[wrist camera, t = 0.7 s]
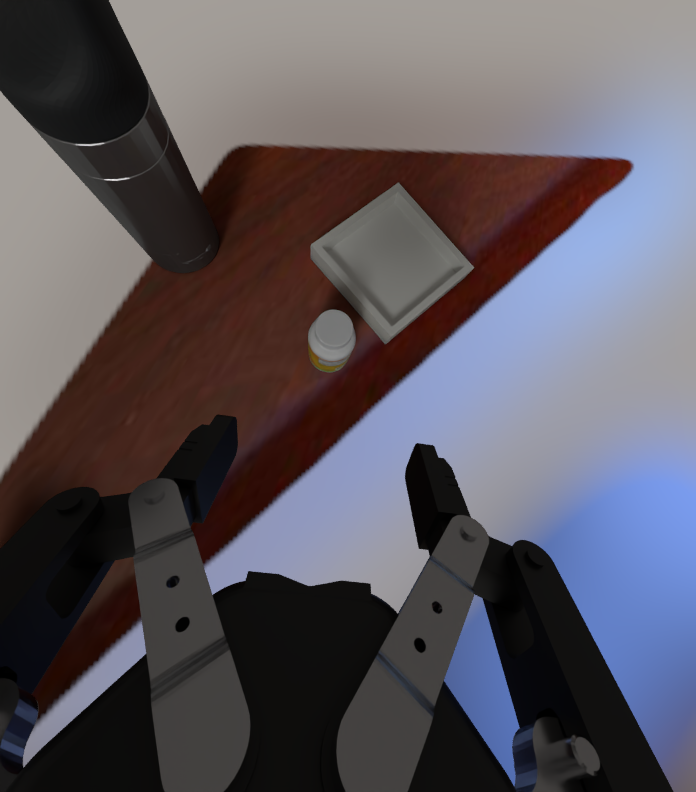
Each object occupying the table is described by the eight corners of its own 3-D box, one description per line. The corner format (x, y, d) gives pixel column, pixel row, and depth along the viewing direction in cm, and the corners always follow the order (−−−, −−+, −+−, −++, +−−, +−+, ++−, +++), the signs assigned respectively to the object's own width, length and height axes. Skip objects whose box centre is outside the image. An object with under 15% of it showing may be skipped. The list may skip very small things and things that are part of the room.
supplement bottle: (311, 331, 39) (311, 298, 30) (350, 337, 40) (362, 306, 30) (306, 370, 39) (304, 348, 29) (346, 375, 39) (357, 356, 30)
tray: (310, 258, 41) (310, 244, 38) (392, 199, 44) (398, 182, 41) (385, 344, 40) (391, 337, 38) (462, 279, 43) (474, 267, 40)
